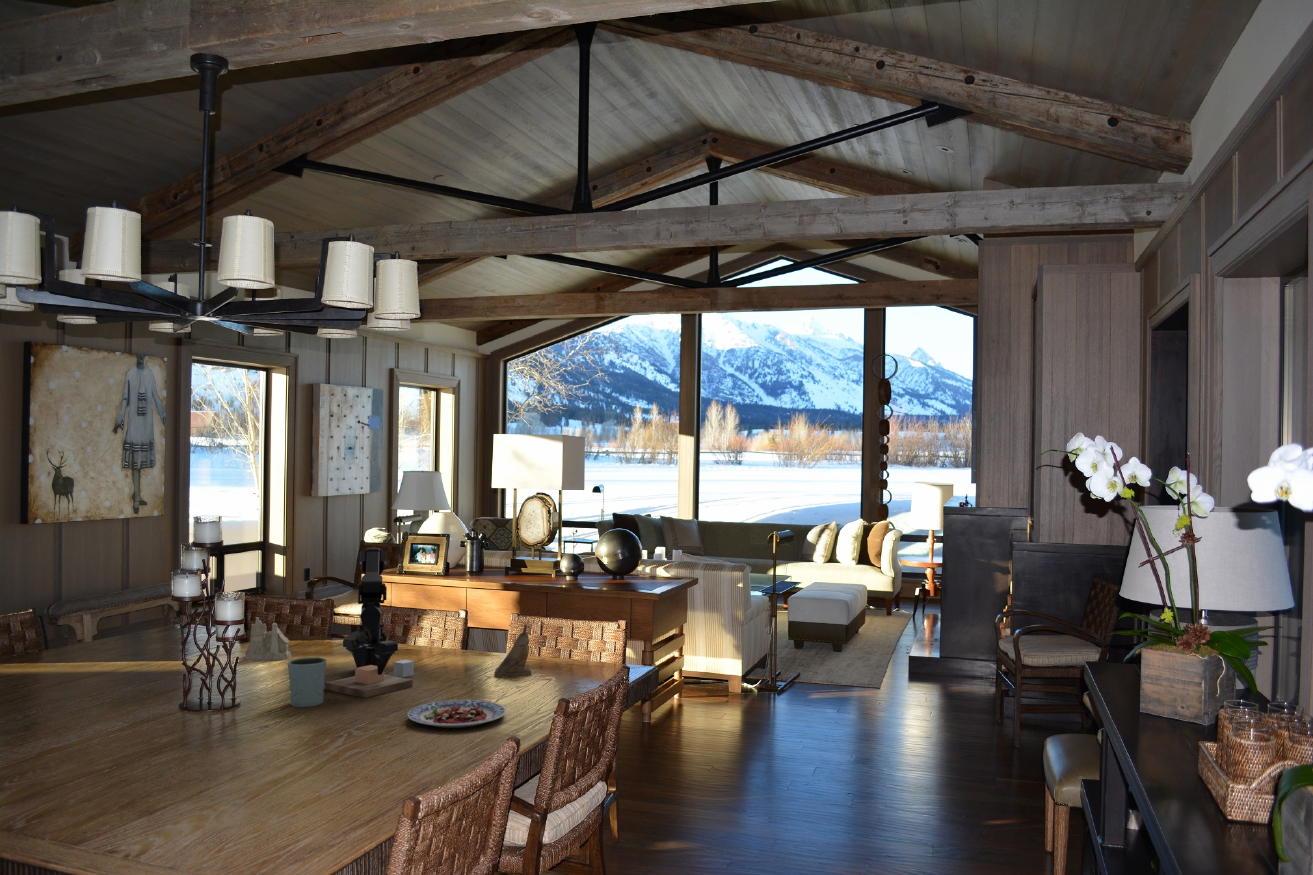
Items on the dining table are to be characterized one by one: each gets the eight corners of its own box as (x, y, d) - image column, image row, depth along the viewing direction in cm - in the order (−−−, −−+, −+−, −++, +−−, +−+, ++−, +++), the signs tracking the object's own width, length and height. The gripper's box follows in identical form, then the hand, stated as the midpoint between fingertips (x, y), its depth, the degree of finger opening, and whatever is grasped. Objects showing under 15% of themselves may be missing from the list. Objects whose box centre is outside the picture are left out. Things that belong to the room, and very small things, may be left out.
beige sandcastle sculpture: (284, 661, 318) (284, 616, 320) (236, 662, 318) (237, 618, 319) (301, 655, 334) (301, 612, 335) (255, 656, 333) (256, 614, 335)
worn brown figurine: (528, 680, 305) (540, 626, 308) (530, 683, 300) (543, 628, 302) (492, 674, 302) (505, 619, 304) (494, 677, 297) (507, 621, 299)
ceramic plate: (522, 712, 255) (523, 702, 255) (474, 737, 231) (475, 725, 231) (441, 704, 264) (441, 693, 264) (387, 727, 239) (387, 715, 240)
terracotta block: (354, 681, 281) (355, 668, 281) (370, 677, 286) (371, 664, 286) (367, 684, 277) (368, 670, 277) (383, 680, 282) (384, 667, 282)
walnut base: (325, 689, 279) (325, 682, 279) (372, 678, 294) (373, 672, 294) (365, 697, 269) (365, 690, 269) (412, 686, 284) (412, 679, 284)
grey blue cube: (393, 675, 298) (393, 661, 299) (404, 673, 302) (404, 659, 302) (402, 677, 296) (403, 663, 296) (413, 675, 300) (414, 661, 300)
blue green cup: (332, 701, 264) (334, 659, 264) (305, 709, 255) (307, 665, 255) (306, 697, 268) (307, 655, 269) (278, 705, 259) (280, 661, 259)
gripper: (328, 621, 280) (327, 673, 280) (370, 627, 270) (368, 681, 270) (358, 616, 290) (357, 667, 289) (399, 622, 280) (398, 674, 279)
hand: (369, 672), depth 282 cm, fingers open, 9 cm apart
